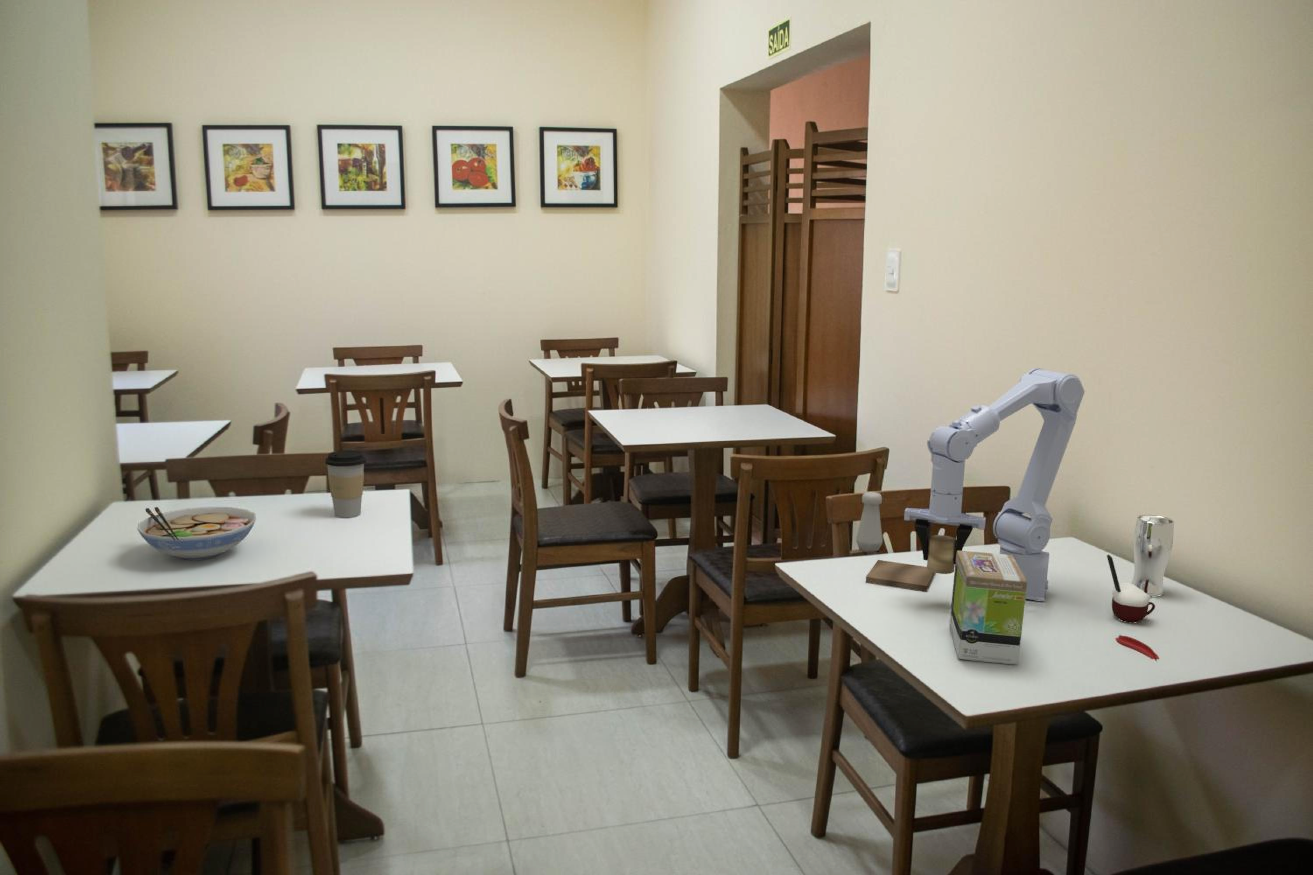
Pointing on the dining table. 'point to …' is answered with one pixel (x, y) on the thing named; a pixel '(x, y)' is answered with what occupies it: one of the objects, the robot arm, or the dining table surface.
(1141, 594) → the cocoa
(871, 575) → the walnut board
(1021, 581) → the tea box
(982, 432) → the robot arm
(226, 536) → the ramen bowl
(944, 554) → the oak cylinder
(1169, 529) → the beer glass
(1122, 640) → the cayenne pepper
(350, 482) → the coffee cup
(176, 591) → the dining table surface
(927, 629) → the dining table surface
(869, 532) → the salt shaker
